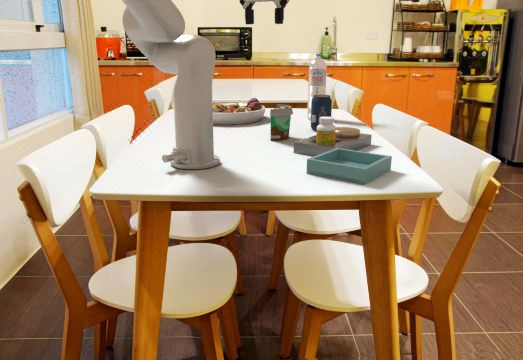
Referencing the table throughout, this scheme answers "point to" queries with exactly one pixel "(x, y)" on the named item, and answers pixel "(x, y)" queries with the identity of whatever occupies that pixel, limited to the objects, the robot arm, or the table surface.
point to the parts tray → (349, 165)
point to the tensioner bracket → (343, 140)
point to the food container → (280, 122)
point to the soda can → (320, 109)
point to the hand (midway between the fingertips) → (264, 24)
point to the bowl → (237, 112)
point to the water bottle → (316, 80)
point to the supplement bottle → (326, 131)
